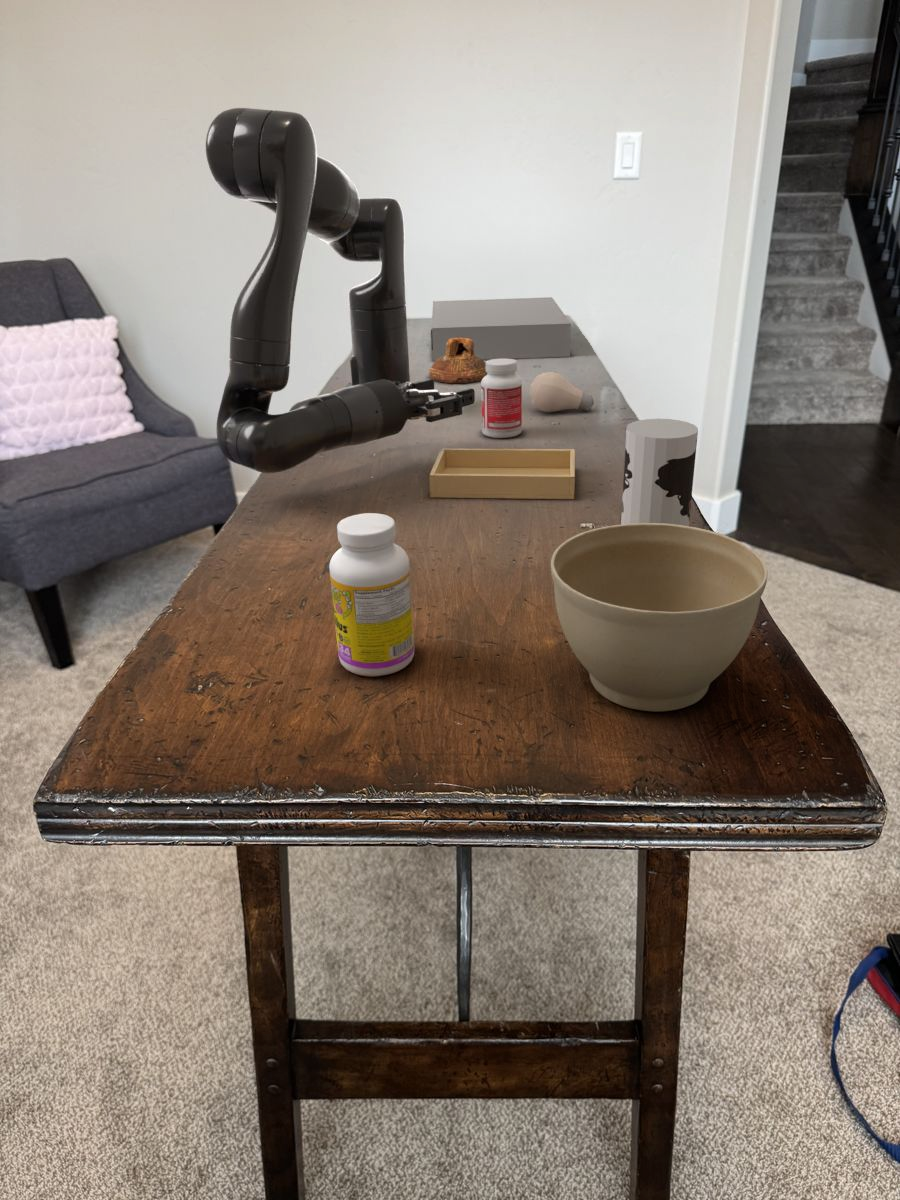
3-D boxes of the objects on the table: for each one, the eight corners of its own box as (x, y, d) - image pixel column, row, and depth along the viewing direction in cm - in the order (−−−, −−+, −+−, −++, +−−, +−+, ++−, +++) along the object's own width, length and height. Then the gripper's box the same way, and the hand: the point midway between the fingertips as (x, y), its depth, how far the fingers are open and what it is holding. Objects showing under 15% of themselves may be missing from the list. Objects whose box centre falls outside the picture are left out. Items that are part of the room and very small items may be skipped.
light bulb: (587, 430, 147) (524, 413, 146) (586, 412, 152) (524, 396, 151) (601, 394, 143) (535, 377, 142) (599, 377, 148) (535, 360, 147)
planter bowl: (542, 635, 81) (544, 523, 76) (722, 633, 80) (736, 520, 75) (555, 741, 66) (559, 611, 61) (775, 739, 65) (797, 608, 61)
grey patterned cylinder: (698, 572, 91) (713, 429, 84) (649, 589, 88) (661, 442, 81) (652, 551, 96) (662, 414, 90) (604, 566, 93) (611, 426, 86)
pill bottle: (529, 434, 137) (530, 361, 132) (497, 441, 134) (497, 367, 129) (505, 425, 142) (505, 355, 137) (474, 432, 139) (472, 360, 134)
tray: (430, 497, 113) (429, 475, 112) (441, 469, 123) (440, 448, 122) (574, 499, 111) (574, 476, 110) (574, 470, 121) (574, 449, 120)
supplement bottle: (340, 643, 80) (326, 510, 75) (413, 638, 81) (405, 505, 75) (337, 682, 74) (323, 541, 69) (416, 677, 75) (408, 536, 69)
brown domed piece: (493, 370, 177) (492, 332, 174) (484, 384, 166) (483, 345, 163) (435, 370, 179) (434, 332, 176) (423, 384, 168) (421, 345, 165)
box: (569, 356, 186) (570, 322, 183) (432, 361, 186) (430, 326, 183) (551, 327, 217) (551, 297, 214) (433, 331, 217) (432, 301, 214)
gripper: (395, 393, 112) (487, 371, 121) (329, 377, 121) (418, 358, 131) (399, 451, 115) (487, 425, 125) (333, 431, 125) (420, 408, 134)
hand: (452, 390), depth 128 cm, fingers open, 8 cm apart
